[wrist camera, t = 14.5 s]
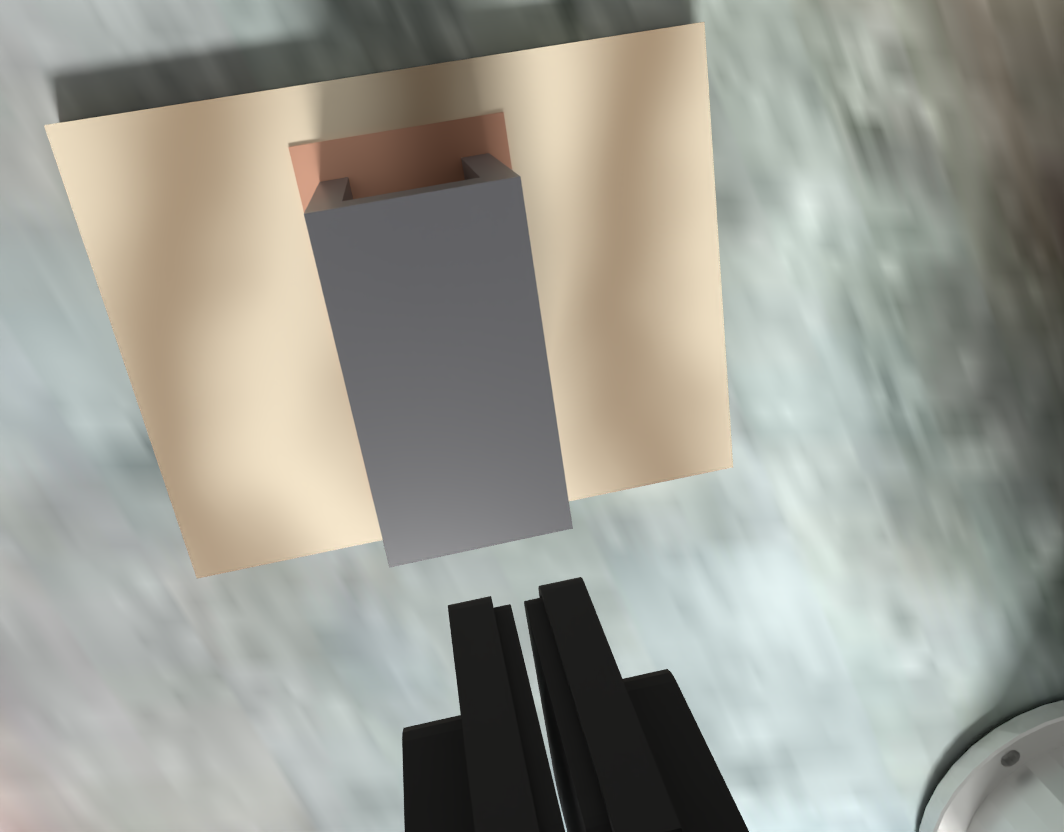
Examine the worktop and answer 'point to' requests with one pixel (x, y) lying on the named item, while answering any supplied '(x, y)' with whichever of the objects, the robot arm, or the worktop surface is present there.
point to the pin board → (385, 167)
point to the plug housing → (443, 359)
